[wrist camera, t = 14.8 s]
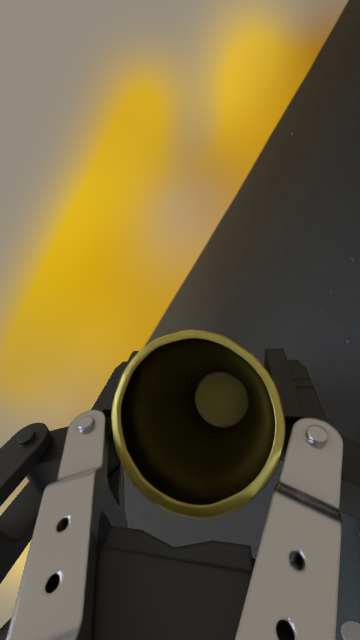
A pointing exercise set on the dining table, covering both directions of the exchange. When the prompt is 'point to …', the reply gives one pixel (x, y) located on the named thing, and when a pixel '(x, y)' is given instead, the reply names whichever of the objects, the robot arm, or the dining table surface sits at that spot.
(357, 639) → the drawer
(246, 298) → the dining table surface
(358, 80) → the dining table surface
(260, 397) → the vase
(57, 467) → the robot arm
